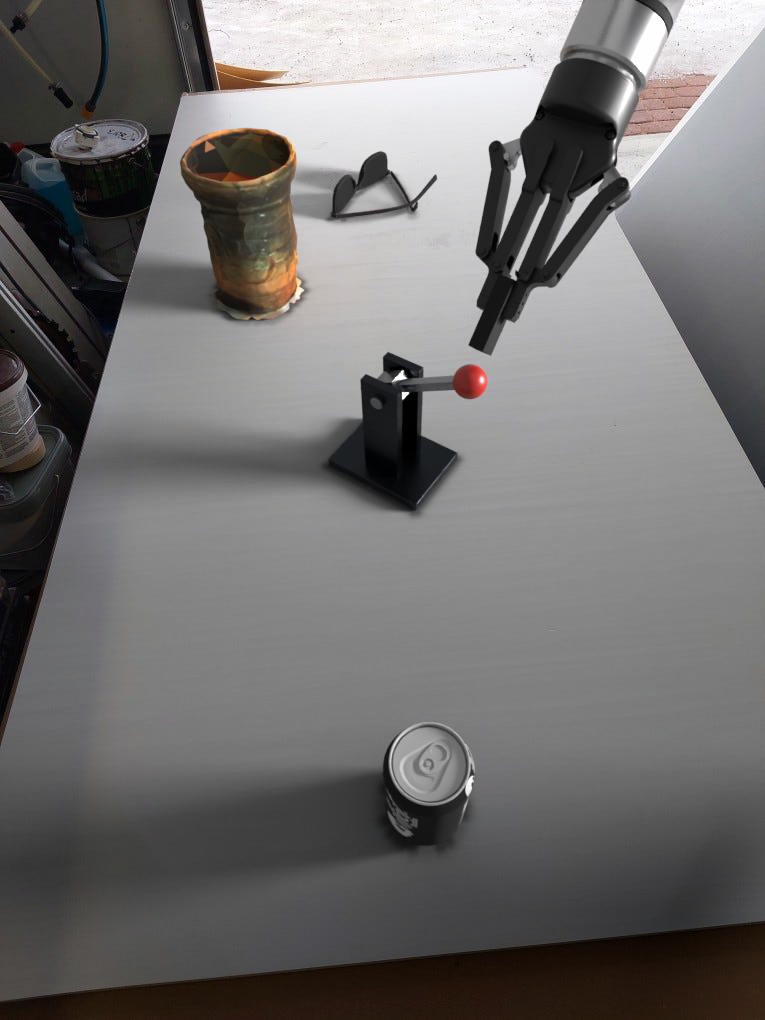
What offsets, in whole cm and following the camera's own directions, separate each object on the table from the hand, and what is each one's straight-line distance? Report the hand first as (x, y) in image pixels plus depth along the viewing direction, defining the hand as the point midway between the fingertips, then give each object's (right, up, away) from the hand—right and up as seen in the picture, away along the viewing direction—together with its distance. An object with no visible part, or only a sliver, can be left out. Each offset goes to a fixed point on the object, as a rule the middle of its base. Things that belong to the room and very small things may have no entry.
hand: (479, 350), depth 62 cm
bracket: (-8, -9, +18) cm, 22 cm away
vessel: (-26, +17, +38) cm, 50 cm away
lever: (-3, -3, +6) cm, 8 cm away
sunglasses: (-7, +36, +51) cm, 63 cm away
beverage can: (-5, -39, -4) cm, 40 cm away
